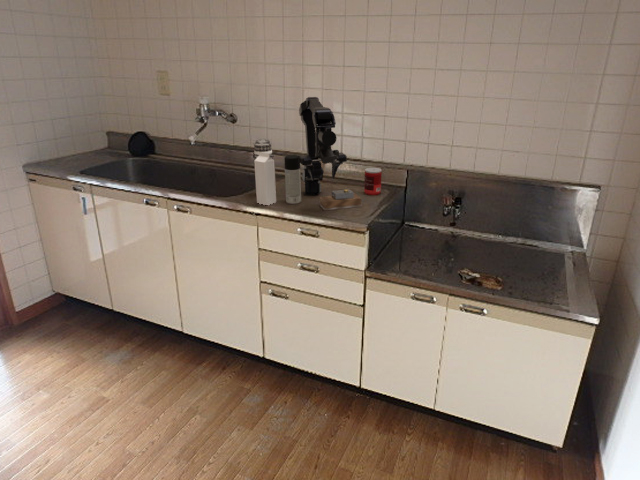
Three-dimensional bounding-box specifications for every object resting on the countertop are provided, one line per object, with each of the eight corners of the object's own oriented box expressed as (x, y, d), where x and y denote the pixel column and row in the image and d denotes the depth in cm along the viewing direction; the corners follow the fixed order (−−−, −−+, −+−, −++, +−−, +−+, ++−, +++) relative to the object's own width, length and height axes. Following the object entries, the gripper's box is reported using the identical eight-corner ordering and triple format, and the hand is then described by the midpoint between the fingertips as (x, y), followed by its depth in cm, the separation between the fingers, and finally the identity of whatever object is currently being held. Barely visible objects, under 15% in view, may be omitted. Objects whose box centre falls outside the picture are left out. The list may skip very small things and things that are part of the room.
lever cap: (335, 200, 193) (335, 192, 191) (331, 196, 197) (331, 189, 196) (353, 198, 195) (353, 190, 193) (349, 194, 199) (349, 187, 198)
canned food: (380, 190, 217) (381, 167, 212) (381, 195, 209) (382, 171, 205) (364, 190, 217) (364, 167, 213) (363, 195, 210) (364, 171, 206)
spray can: (303, 200, 204) (302, 155, 197) (297, 204, 198) (296, 158, 191) (289, 198, 206) (287, 154, 199) (283, 203, 200) (281, 157, 193)
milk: (266, 200, 205) (263, 150, 197) (276, 202, 202) (274, 152, 193) (256, 203, 201) (253, 152, 192) (267, 206, 197) (264, 154, 189)
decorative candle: (251, 196, 211) (247, 140, 201) (262, 190, 218) (259, 137, 209) (268, 198, 207) (265, 142, 197) (279, 193, 214) (276, 138, 205)
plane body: (324, 210, 191) (324, 202, 190) (319, 204, 198) (319, 197, 197) (361, 206, 196) (362, 198, 194) (355, 201, 202) (355, 193, 201)
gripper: (306, 146, 175) (306, 186, 181) (352, 143, 180) (351, 182, 186) (298, 141, 184) (299, 179, 190) (342, 138, 190) (341, 175, 196)
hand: (323, 179), depth 190 cm, fingers open, 8 cm apart
